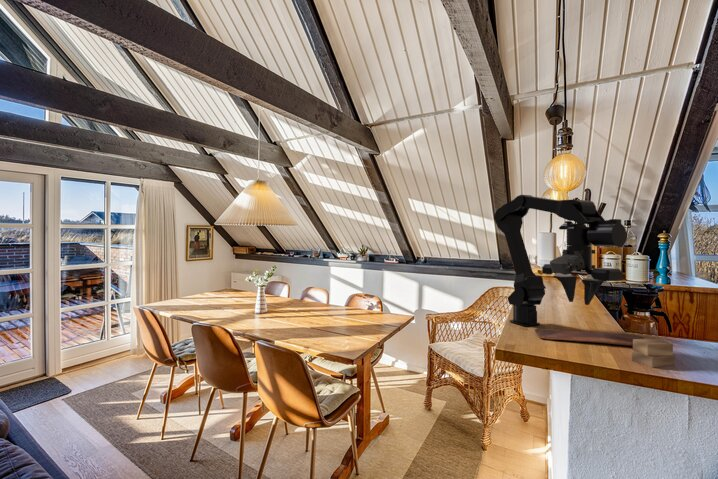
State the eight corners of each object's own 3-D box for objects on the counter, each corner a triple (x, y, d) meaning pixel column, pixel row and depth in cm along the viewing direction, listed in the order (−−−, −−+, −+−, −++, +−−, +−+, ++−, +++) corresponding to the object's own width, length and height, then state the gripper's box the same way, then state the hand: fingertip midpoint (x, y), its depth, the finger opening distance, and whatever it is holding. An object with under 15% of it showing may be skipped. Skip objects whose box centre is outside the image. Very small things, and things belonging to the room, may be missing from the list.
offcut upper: (632, 350, 75) (632, 339, 75) (657, 349, 75) (657, 338, 75) (647, 355, 71) (647, 344, 71) (672, 355, 72) (672, 343, 72)
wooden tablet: (539, 333, 89) (532, 321, 99) (538, 341, 90) (532, 328, 99) (660, 344, 81) (640, 329, 90) (659, 353, 81) (639, 337, 90)
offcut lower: (631, 362, 74) (632, 351, 74) (653, 359, 76) (653, 348, 76) (652, 369, 70) (652, 357, 70) (674, 365, 72) (674, 354, 72)
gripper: (528, 245, 95) (527, 299, 95) (593, 247, 78) (593, 312, 78) (556, 245, 99) (555, 296, 99) (624, 246, 81) (624, 309, 81)
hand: (578, 303), depth 89 cm, fingers open, 4 cm apart
